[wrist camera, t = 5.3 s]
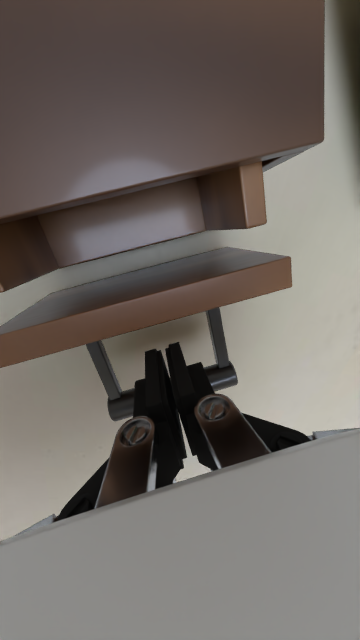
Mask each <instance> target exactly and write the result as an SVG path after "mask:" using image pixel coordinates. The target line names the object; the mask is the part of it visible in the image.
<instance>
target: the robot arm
mask: <svg viewBox="0 0 360 640" xmlns="http://www.w3.org/2000/svg"><path fill="white" fill-rule="evenodd" d="M165 351H166V356H167V362H168V367H169V373H170V378H171V381H170V378H169V375H168V371H167V368H166V365H165V362H164V359H163V356H162V352H161V350H159V351H157V350H156V349H152V350H149V351H145V378H144V379H141V380H138V381H136V382H135V391H134V408H133V418H132V419H130V420H128V421H127V422H125V423H124V424H123V425H122V426H121V427H120V429H119V430H118V432H117V434H116V437H115V440H114V444H113V447H112V450H111V454H110V457H109V458H108V460H107V461H106V462H105V463H104V464H103V465H102V466H101V467H100V468H99V469H98V470H97V471H96V472H95V474H94V475H93V476H92V477H91V478H90V479H89V480H88V481H87V482H86V483H85V484H84V485H83V487H82V488H81V489H80V490H79V491H78V492H77V493H76V494H75V495H74V496H73V497H72V498H71V500H70V501H69V502H68V503H67V504H66V505H65V507H64V508H63V509H62V511H61V513H60V515H58V516H57V517H56V516H55V514H52V515H51V516H49V517H47V518H45V519H43V520H42V521H40V522H38V523H36V524H34V525H33V526H31V527H29V528H27V529H25V530H24V531H22V532H20V533H18V534H16V535H15V536H13V537H11V538H8V539H5V540H3V541H0V640H360V428H353V429H341V430H329V431H316V432H313V435H312V436H306V435H305V434H303V433H301V432H299V431H296V430H293V429H290V428H287V427H284V426H281V425H278V424H275V423H272V422H268V421H265V420H262V419H259V418H256V417H253V416H250V415H247V414H244V413H241V412H240V411H239V409H238V408H237V407H236V406H235V404H234V403H233V402H232V400H231V399H230V398H228V397H227V396H225V395H222V394H215V393H214V390H213V388H212V386H211V383H210V381H209V379H208V377H207V374H206V372H205V370H204V368H203V365H202V363H201V362H199V363H196V364H192V365H189V366H186V363H185V360H184V357H183V354H182V350H181V347H180V344H179V342H177V343H173V344H170V345H169V348H166V349H165ZM178 412H179V413H178ZM179 415H180V418H181V421H182V425H183V428H184V431H185V434H186V437H187V440H188V443H189V446H190V449H191V453H192V456H194V455H197V457H198V460H199V463H201V464H203V465H205V466H207V467H208V468H210V469H211V472H209V473H206V474H202V475H199V476H196V477H193V478H190V479H187V480H184V481H180V482H177V483H176V479H175V477H176V475H177V474H178V472H179V471H180V469H183V468H184V466H183V460H182V459H184V458H187V455H186V449H185V444H184V439H183V434H182V429H181V423H180V418H179Z"/></svg>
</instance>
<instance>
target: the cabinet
mask: <svg viewBox="0 0 360 640" xmlns="http://www.w3.org/2000/svg"><path fill="white" fill-rule="evenodd" d="M324 21H325V0H0V224H3V223H7V222H11V221H15V220H19V219H24V218H28V217H32V216H36V215H40V214H44V213H48V212H53V211H57V210H61V209H65V208H69V207H73V206H77V205H82V204H86V203H90V202H94V201H98V200H102V199H106V198H111V197H115V196H119V195H123V194H127V193H131V192H135V191H140V190H144V189H148V188H152V187H156V186H160V185H165V184H169V183H173V182H177V181H181V180H185V179H189V178H194V177H198V176H202V175H206V174H210V173H214V172H218V171H223V170H227V169H231V168H235V167H239V166H243V165H247V164H252V163H256V162H260V161H262V171H263V172H265V171H267V170H269V169H271V168H273V167H274V166H276V165H278V164H280V163H282V162H284V161H286V160H288V159H290V158H292V157H294V156H296V155H298V154H300V153H302V152H304V151H305V150H308V149H310V148H312V147H314V146H315V145H317V144H319V143H321V142H323V140H324Z"/></svg>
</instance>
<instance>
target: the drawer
mask: <svg viewBox="0 0 360 640" xmlns="http://www.w3.org/2000/svg"><path fill="white" fill-rule="evenodd" d="M266 222H267V220H266V208H265V195H264V183H263V171H262V161H260V162H256V163H252V164H247V165H243V166H239V167H235V168H231V169H227V170H223V171H218V172H214V173H210V174H206V175H202V176H198V177H194V178H189V179H185V180H181V181H177V182H173V183H169V184H165V185H160V186H156V187H152V188H148V189H144V190H140V191H135V192H131V193H127V194H123V195H119V196H115V197H111V198H106V199H102V200H98V201H94V202H90V203H86V204H82V205H77V206H73V207H69V208H65V209H61V210H57V211H53V212H48V213H44V214H40V215H36V216H32V217H28V218H24V219H19V220H15V221H11V222H7V223H3V224H0V293H1V292H5V291H7V290H10V289H12V288H14V287H17V286H19V285H21V284H24V283H26V282H29V281H31V280H33V279H36V278H38V277H40V276H43V275H45V274H48V273H50V272H52V271H55V270H57V269H60V268H63V267H67V266H71V265H75V264H79V263H83V262H87V261H91V260H95V259H99V258H102V257H106V256H110V255H114V254H118V253H122V252H126V251H130V250H134V249H138V248H141V247H145V246H149V245H153V244H157V243H161V242H165V241H169V240H173V239H176V238H180V237H184V236H188V235H192V234H196V233H200V232H204V231H211V230H231V229H248V228H252V227H256V226H260V225H264V224H266ZM290 287H292V274H291V257H289V256H282V255H276V254H269V253H263V252H256V251H250V250H243V249H237V248H230V247H225V248H221V249H217V250H214V251H210V252H206V253H202V254H198V255H195V256H191V257H187V258H183V259H179V260H176V261H172V262H168V263H164V264H160V265H157V266H153V267H149V268H145V269H141V270H137V271H134V272H130V273H126V274H122V275H118V276H115V277H111V278H107V279H103V280H99V281H96V282H92V283H88V284H84V285H80V286H76V287H73V288H69V289H65V290H61V291H57V292H54V293H51V294H49V295H48V296H46V297H44V298H43V299H41V300H40V301H38V302H37V303H35V304H34V305H32V306H31V307H29V308H28V309H26V310H25V311H23V312H22V313H20V314H18V315H17V316H15V317H14V318H12V319H11V320H9V321H8V322H6V323H5V324H3V325H2V326H0V368H2V367H6V366H9V365H13V364H17V363H20V362H24V361H27V360H31V359H35V358H38V357H42V356H45V355H49V354H53V353H56V352H60V351H63V350H67V349H71V348H74V347H78V346H81V345H85V344H86V346H87V349H88V351H89V353H90V355H91V358H92V360H93V362H94V364H95V367H96V369H97V371H98V374H99V376H100V378H101V380H102V383H103V385H104V387H105V389H106V392H107V394H108V396H109V397H108V403H107V404H108V411H109V415H110V417H111V419H112V420H113V421H118V420H122V419H125V418H128V417H132V416H133V408H134V391H135V388H133V389H129V390H126V391H122V390H121V388H120V385H119V383H118V380H117V378H116V375H115V373H114V370H113V368H112V366H111V363H110V361H109V358H108V356H107V353H106V351H105V349H104V346H103V344H102V341H101V340H103V339H106V338H110V337H114V336H117V335H121V334H124V333H128V332H132V331H135V330H139V329H142V328H146V327H150V326H153V325H157V324H160V323H164V322H168V321H171V320H175V319H178V318H182V317H185V316H189V315H193V314H196V313H200V312H203V311H206V316H207V320H208V325H209V330H210V335H211V340H212V345H213V350H214V355H215V360H216V363H217V364H214V365H211V366H208V367H204V370H205V372H206V374H207V377H208V379H209V381H210V383H211V386H212V388H213V390H214V392H215V391H218V390H221V389H225V388H228V387H231V386H235V385H237V383H238V380H237V375H236V372H235V369H234V367H233V365H232V363H231V362H230V361H229V359H228V354H227V348H226V343H225V337H224V331H223V326H222V320H221V315H220V309H219V307H221V306H225V305H229V304H232V303H236V302H239V301H243V300H247V299H250V298H254V297H257V296H261V295H265V294H268V293H272V292H275V291H279V290H282V289H286V288H290ZM170 381H171V378H170Z"/></svg>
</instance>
